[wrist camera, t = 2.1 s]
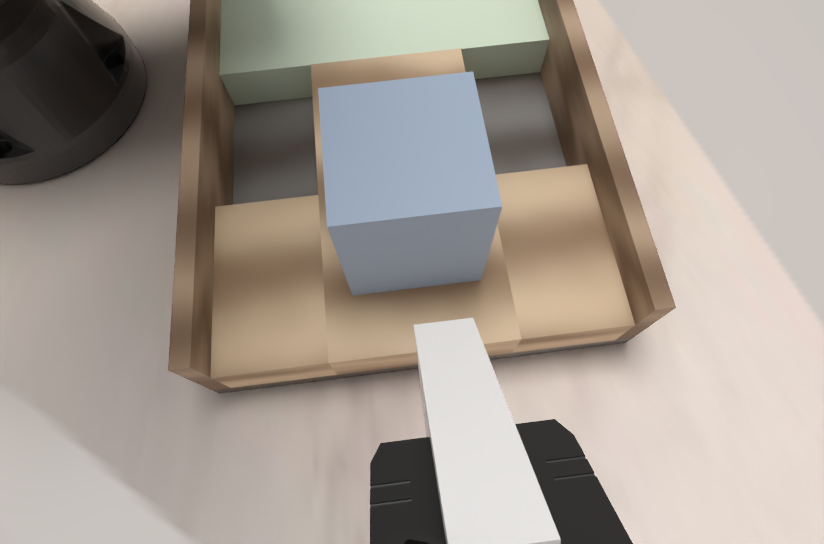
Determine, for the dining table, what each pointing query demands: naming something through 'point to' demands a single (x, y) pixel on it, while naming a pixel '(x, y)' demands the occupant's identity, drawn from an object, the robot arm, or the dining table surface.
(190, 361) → the box
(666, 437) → the dining table surface
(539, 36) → the pad
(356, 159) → the slate block
